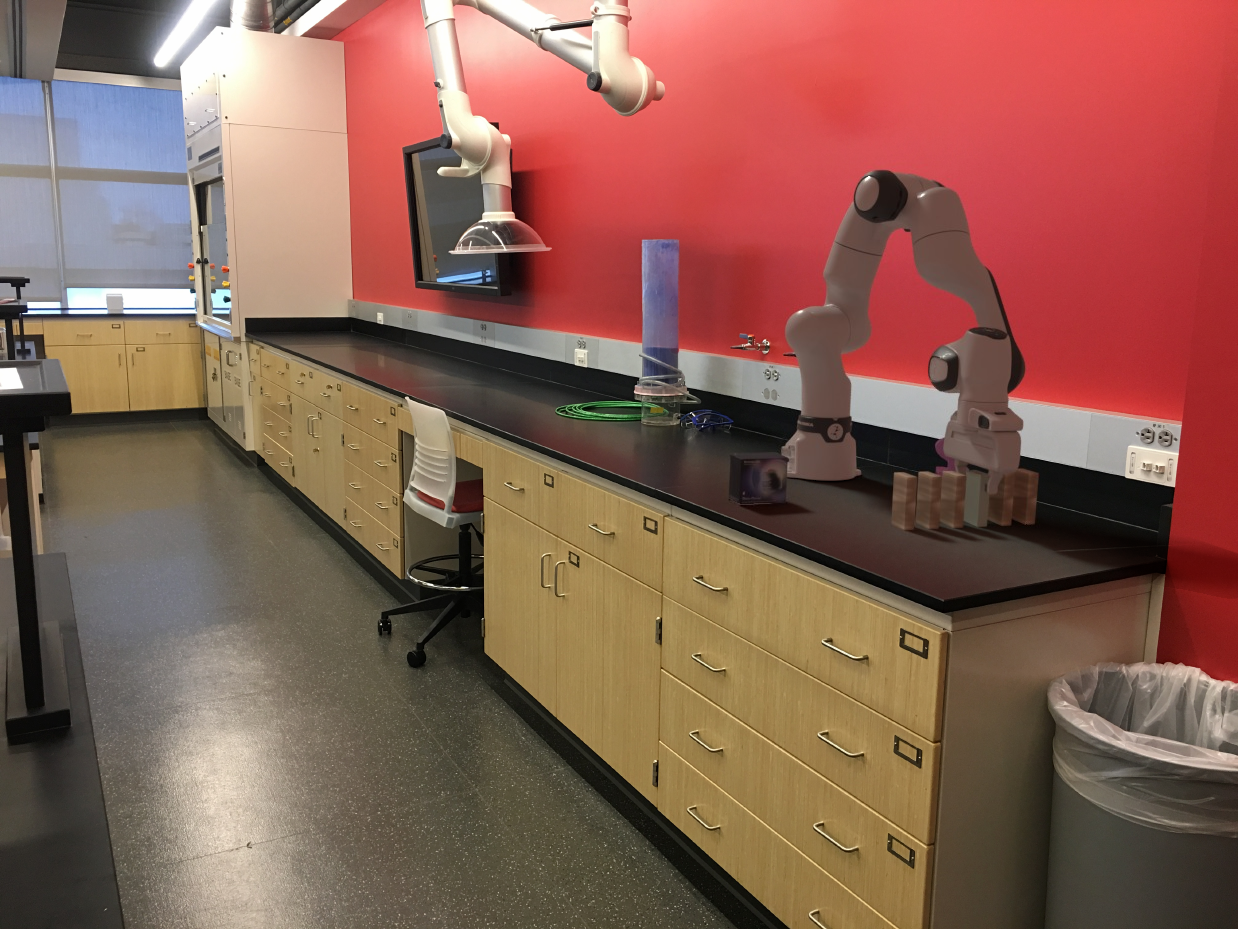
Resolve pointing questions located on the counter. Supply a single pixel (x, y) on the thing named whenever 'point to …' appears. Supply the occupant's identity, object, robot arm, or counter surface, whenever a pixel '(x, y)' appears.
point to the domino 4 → (976, 498)
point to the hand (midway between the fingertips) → (976, 488)
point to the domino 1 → (904, 501)
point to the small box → (758, 477)
